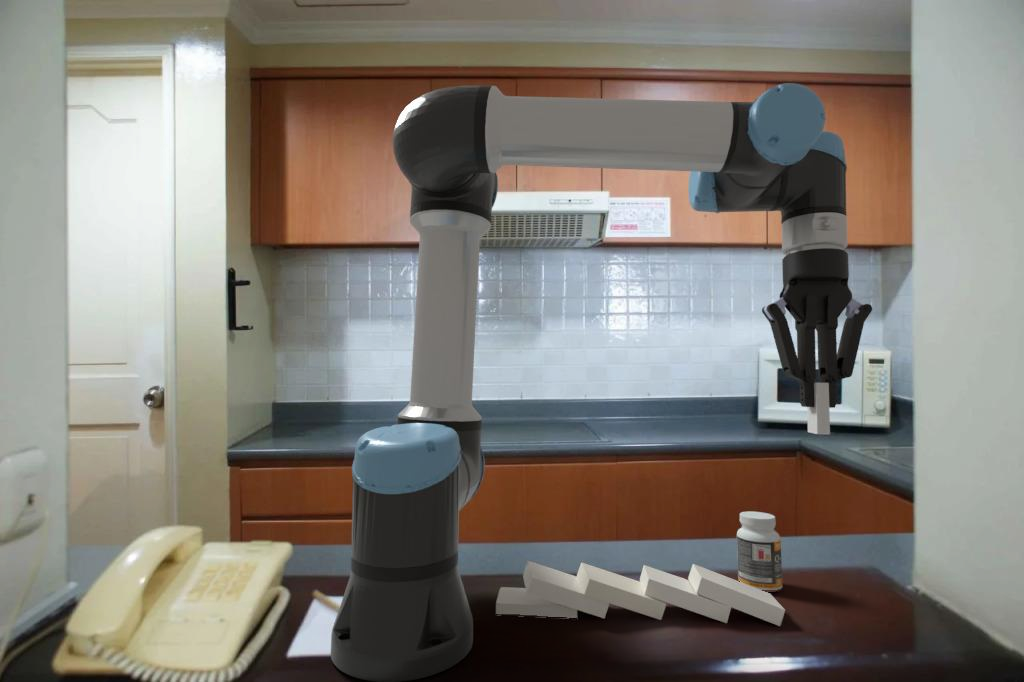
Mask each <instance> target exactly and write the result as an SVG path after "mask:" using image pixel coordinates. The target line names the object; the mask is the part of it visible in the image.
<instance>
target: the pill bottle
mask: <svg viewBox="0 0 1024 682" xmlns="http://www.w3.org/2000/svg"><path fill="white" fill-rule="evenodd" d="M739 522H740V524H741V527H740V528H738V529H737V532H736V548H737V549H736V550H737V551H736V552H737V578H738V581H740V582H742V583H744V584H747V585H749V586H752V587H755V588H757V589H760V590H778V589H781V588H782V589H783V566H782V545H781V542H782V541H781V537H780V534H779V533H778V532H777V531H776V530H775V528H776V525H777V520H776V516H775V515H773V514H771V513H767V512H761V511H752V510H751V511H742V512H739ZM782 589H781V590H782Z"/></svg>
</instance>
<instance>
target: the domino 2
mask: <svg viewBox="0 0 1024 682" xmlns="http://www.w3.org/2000/svg"><path fill="white" fill-rule="evenodd" d="M576 576H577V575H574V574H570V573H567V572H563V571H561V570H557V569H555V568H552V567H549V566H545V565H543V564H539V563H536V562H534V561H530V560H527V562H526V564H525V568H524V571H523V573H522V578H523V583H524V586H525V587H524V588H526V592H527V594H530V595H533V596H536V597H539V598H542V599H545V600H549V601H552V602H555V603H558V604H561V605H564V606H567V607H570V608H573V609H576V610H577V611H580V612H582V613H586V614H588V615H592V616H596V617H599V618H601V619H605V618H606V614H607V612H608V609H609V606H610V603H607V602H604V601H601V600H598V599H595V598H592V597H589V596H586V595H584V593H583V591H582V589H581V587H580V584H579V582H578V580H577V578H576Z"/></svg>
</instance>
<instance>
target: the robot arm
mask: <svg viewBox="0 0 1024 682" xmlns="http://www.w3.org/2000/svg"><path fill="white" fill-rule="evenodd" d="M826 119H827V118H826V109H825V106H824V103H823V101H822V100H821V98H820V97H819V96H818V94H817V93H816V92H815V91H813V90H812V89H811V88H809V87H808V86H805V85H803V84H800V83H793V82H791V83H790V82H787V83H781V84H779V85H775V86H773V87H771V88H769V89H767V90H766V91H764V92H763V93H762V94H761V95H760V96H759V97H757V98H756V99H755V100H754V101H710V100H709V101H706V100H705V101H703V100H675V99H674V100H668V99H667V100H666V99H633V98H632V99H630V98H628V99H627V98H593V97H591V98H589V97H557V96H555V97H553V96H552V97H551V96H521V95H520V96H518V95H516V96H514V95H512V96H511V95H505V94H503V92H502V91H501V90H500V89H499V88H498V87H497V86H496V85H458V86H449V87H448V86H447V87H444V88H439V89H435V90H432V91H429V92H427V93H424V94H422V95H421V96H418V97H417V98H416V99H414V100H412V101H411V102H410V103H409V104H408V105H407V106H406V107H405V108H404V109H403V110H402V112H401V113H400V115H399V116H398V119H397V121H396V123H395V127H394V130H393V135H392V151H393V155H394V158H395V162H396V164H397V166H398V168H399V170H400V171H401V173H402V174H403V176H404V177H405V178H406V179H407V181H408V182H409V183H410V185H411V195H410V197H411V198H410V209H409V210H410V213H409V223H410V225H411V226H412V227H413V228H414V229H415V230H416V232H417V233H418V235H419V242H418V243H419V244H418V258H417V261H418V263H417V276H416V278H417V279H416V296H415V309H414V328H413V343H412V344H413V347H412V360H411V378H410V379H411V381H410V394H409V395H410V398H409V402H408V404H407V406H405V407H404V408H403V409H402V410H400V412H399V413H397V423H396V424H393V425H391V426H381V427H378V428H377V427H376V428H374V429H371V430H368V431H367V432H365V433H364V434H362V435H361V436H360V437H359V439H358V440H357V442H356V444H355V447H354V448H355V449H354V456H353V457H354V459H353V462H352V465H351V474H352V496H351V497H352V498H351V499H352V502H351V503H352V504H351V505H352V506H351V511H352V512H351V541H350V542H351V544H350V545H351V548H350V549H351V550H350V551H351V552H350V559H351V560H350V575H349V579H348V581H347V585H346V588H345V591H344V594H343V597H342V600H341V601H340V606H339V607H338V612H337V614H336V618H335V620H334V622H333V626H332V630H331V639H330V658H331V661H332V663H333V664H334V666H335V667H336V668H337V669H338V670H339V671H341V672H342V673H344V674H345V675H348V676H351V677H353V678H356V679H359V680H364V681H368V682H407V681H409V682H410V681H412V680H419V679H423V678H427V677H431V676H434V675H436V674H439V673H441V672H444V671H446V670H448V669H451V668H452V667H453V666H454V667H455V666H456V665H457V664H458V663H460V662H461V661H462V660H463V659H465V658H466V656H468V654H469V653H470V651H471V650H472V647H473V644H474V619H473V614H472V611H471V607H470V605H469V601H468V597H467V595H466V592H465V591H466V590H465V588H464V583H463V581H462V577H461V574H460V571H459V527H460V526H459V525H460V524H459V523H460V519H459V517H460V511H461V510H462V509H463V508H464V507H465V505H467V504H468V503H469V501H471V500H472V499H473V498H474V496H475V495H476V494H477V492H478V491H479V489H480V486H481V483H482V481H483V478H484V474H485V469H486V459H485V453H484V452H483V447H482V443H481V441H482V420H483V419H482V418H483V417H482V415H481V414H480V413H479V412H478V411H477V410H476V408H474V406H473V403H472V402H473V387H474V385H473V383H474V366H475V365H474V363H475V347H476V346H475V343H476V328H477V327H476V326H477V324H476V323H477V304H478V303H477V302H478V300H477V299H478V285H479V281H478V280H479V265H480V264H479V262H480V246H481V245H480V243H481V241H480V240H481V238H483V237H484V236H485V235H487V234H488V232H489V231H490V230H491V228H492V214H493V212H492V210H493V207H494V205H495V203H496V200H497V196H498V191H499V190H498V189H499V184H498V183H499V181H498V180H499V179H498V175H497V172H498V171H499V170H500V169H501V168H502V167H504V166H527V167H558V168H559V167H560V168H585V169H587V168H588V169H613V170H617V169H618V170H639V171H640V170H641V171H642V170H644V171H668V172H669V171H671V172H689V179H688V201H689V205H690V206H691V209H693V210H694V211H696V212H701V213H702V212H703V213H704V212H705V213H706V212H707V213H715V214H720V213H739V212H740V213H742V212H744V213H748V212H780V215H781V221H780V222H781V253H782V254H783V255H785V256H784V257H783V258H782V259H781V261H782V262H781V263H782V266H781V267H782V285H783V286H782V290H781V291H780V294H779V298H778V299H777V300H775V301H773V302H771V303H770V304H767V305H765V306H763V307H762V308H761V312H762V314H763V315H764V316H765V318H766V320H767V322H769V325H770V328H771V332H772V335H773V339H774V342H775V347H776V351H777V354H778V357H779V360H780V361H779V362H780V366H781V368H782V371H783V374H784V376H786V377H787V378H792V379H794V380H796V382H798V383H799V403H800V405H801V407H804V408H806V410H807V411H806V412H807V416H806V417H807V433H808V434H809V433H810V434H815V435H827V436H829V435H831V426H830V424H831V422H830V421H831V420H830V419H831V418H830V408H836V405H837V383H838V382H840V380H843V379H846V378H851V377H852V376H853V373H854V368H855V364H856V359H857V354H858V350H859V346H860V342H861V337H862V334H863V329H864V325H865V322H866V320H867V319H868V317H869V316H870V314H871V313H872V312H873V306H872V305H871V304H870V303H865V304H862V303H860V302H859V301H857V299H854V298H853V292H852V291H851V290H850V287H849V283H848V282H849V275H850V273H849V272H850V271H849V270H850V269H849V268H850V267H849V253H848V252H847V251H846V250H845V249H846V248H847V247H848V244H849V243H848V241H849V240H848V217H847V216H848V215H847V176H846V175H847V170H848V167H847V162H846V152H845V147H844V142H843V139H842V137H841V136H840V135H839V134H837V133H835V132H833V131H827V130H824V128H825V124H826ZM845 309H846V310H845ZM844 310H845V313H844V315H845V316H846V318H845V320H844V322H843V326H842V327H843V328H842V330H841V331H842V332H841V336H840V340H839V344H838V346H837V329H838V327H839V320H838V319H839V317H840V316H841V315H842V313H843V312H844ZM787 311H788V312H789V314H790V315H791V316H792V318H793V319H794V324H795V325H794V328H795V331H796V349H797V351H796V349H795V344H794V341H793V336H792V334H791V330H790V326H789V324H788V319H787V318H786V314H787ZM816 332H817V333H816ZM816 334H817V337H816ZM816 338H817V339H816ZM816 340H817V357H816ZM837 348H838V349H837ZM816 358H817V363H816ZM817 365H818V366H817ZM817 367H818V368H817ZM816 368H817V369H818V371H817V369H816ZM817 372H818V380H819V382H815V381H816V379H817Z"/></svg>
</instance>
